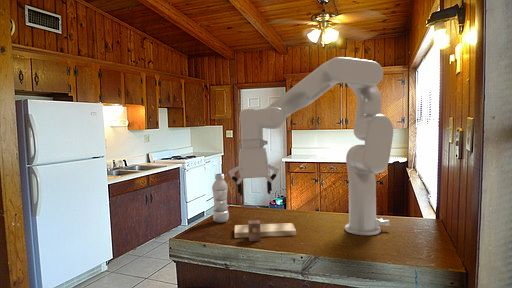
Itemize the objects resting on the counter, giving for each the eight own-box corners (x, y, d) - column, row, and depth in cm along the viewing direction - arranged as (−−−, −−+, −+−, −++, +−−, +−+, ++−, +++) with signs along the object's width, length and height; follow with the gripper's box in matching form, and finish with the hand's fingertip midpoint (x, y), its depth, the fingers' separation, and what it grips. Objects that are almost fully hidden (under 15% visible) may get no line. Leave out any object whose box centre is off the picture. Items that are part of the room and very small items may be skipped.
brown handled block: (258, 229, 125) (258, 213, 125) (260, 241, 112) (260, 224, 111) (248, 229, 125) (247, 214, 124) (249, 241, 111) (248, 224, 111)
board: (292, 227, 126) (292, 223, 126) (296, 235, 117) (296, 230, 117) (235, 229, 125) (234, 225, 125) (234, 237, 116) (234, 232, 116)
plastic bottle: (232, 221, 137) (231, 173, 136) (220, 225, 132) (218, 175, 131) (222, 218, 141) (220, 172, 140) (209, 222, 136) (208, 174, 135)
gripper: (276, 142, 117) (278, 190, 118) (227, 145, 116) (230, 193, 117) (278, 144, 109) (281, 194, 110) (226, 146, 109) (229, 197, 109)
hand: (255, 194), depth 114 cm, fingers open, 9 cm apart
